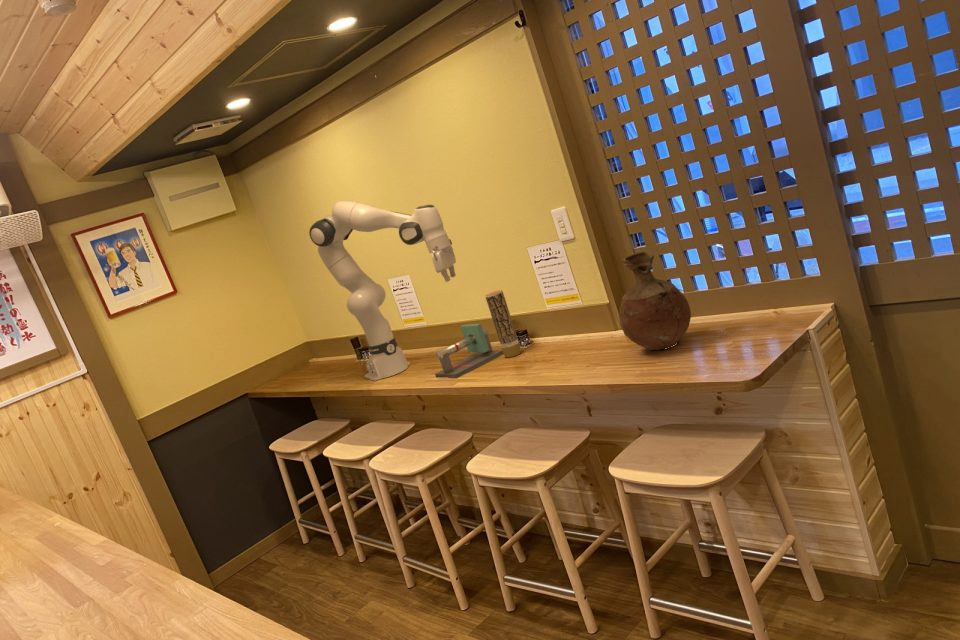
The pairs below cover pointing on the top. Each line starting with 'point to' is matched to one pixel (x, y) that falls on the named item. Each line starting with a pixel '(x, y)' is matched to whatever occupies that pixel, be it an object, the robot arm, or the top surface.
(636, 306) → the jug
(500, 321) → the bark covered log
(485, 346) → the collar
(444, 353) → the pipe rig
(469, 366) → the base board
